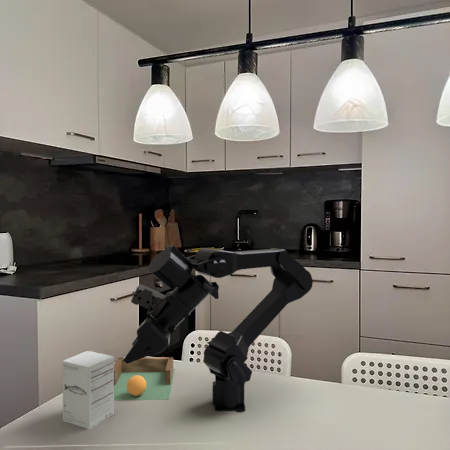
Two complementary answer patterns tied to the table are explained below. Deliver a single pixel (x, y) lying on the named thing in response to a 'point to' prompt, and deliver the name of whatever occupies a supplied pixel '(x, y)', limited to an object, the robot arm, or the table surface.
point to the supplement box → (88, 389)
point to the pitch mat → (153, 386)
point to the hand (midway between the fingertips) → (129, 353)
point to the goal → (145, 367)
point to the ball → (136, 385)
